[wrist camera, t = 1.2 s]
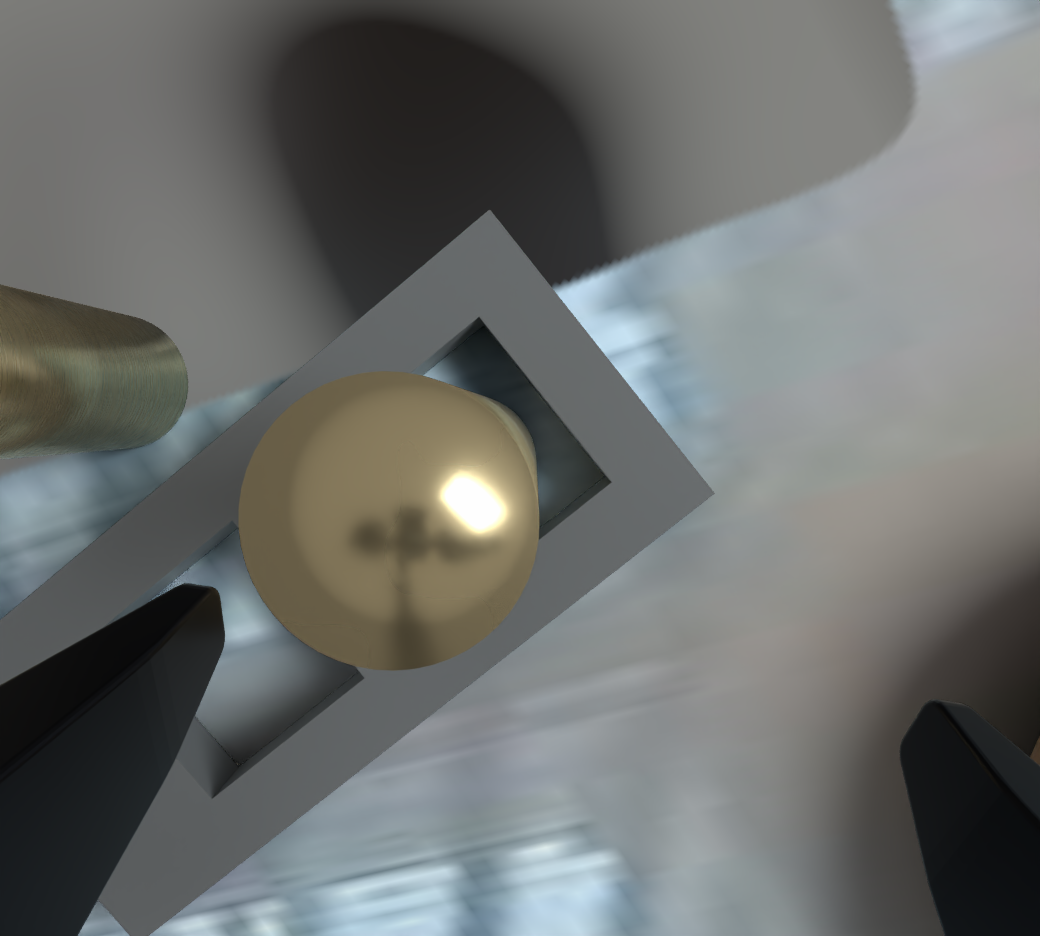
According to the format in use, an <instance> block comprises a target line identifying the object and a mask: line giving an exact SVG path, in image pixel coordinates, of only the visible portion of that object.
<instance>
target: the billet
mask: <svg viewBox="0 0 1040 936" xmlns="http://www.w3.org/2000/svg"><path fill="white" fill-rule="evenodd" d="M238 527H239V535H240V543H241V549H242V552H243V556H244V560H245V564H246V567H247V569H248V572H249V574H250V577H251V579H252V582H253V584H254V586H255V588H256V589H257V591H258V593H259V595H260V596H261V598H262V600H263V601H264V603H265V604H266V605H267V607H268V608H269V610H270V611H271V612H272V614H273V615H274V616H275V617H276V618H277V619H278V620H279V621H280V622H281V624H282V625H283V626H284V627H285V628H286V629H287V630H288V631H290V632H291V633H292V634H293V635H294V636H296V637H297V638H298V639H299V640H301V641H302V642H303V643H305V644H306V645H308V646H310V647H311V648H313V649H315V650H316V651H318V652H319V653H322V654H324V655H326V656H328V657H330V658H333V659H335V660H337V661H340V662H343V663H346V664H350V665H353V666H356V667H362V668H368V669H373V670H390V671H397V670H409V669H416V668H421V667H426V666H431V665H434V664H437V663H440V662H443V661H445V660H448V659H451V658H453V657H455V656H457V655H459V654H461V653H463V652H465V651H467V650H468V649H470V648H471V647H473V646H474V645H476V644H477V643H479V642H480V641H482V640H483V639H484V638H485V637H487V636H488V635H489V634H490V633H491V632H492V631H493V630H494V629H495V628H497V627H498V626H499V624H500V623H501V622H502V621H503V620H504V619H505V617H506V616H507V615H508V614H509V613H510V612H511V610H512V608H513V607H514V605H515V604H516V602H517V601H518V599H519V598H520V596H521V594H522V592H523V590H524V588H525V586H526V584H527V582H528V579H529V577H530V574H531V571H532V568H533V565H534V561H535V557H536V552H537V546H538V541H539V501H538V481H537V461H536V451H535V446H534V442H533V440H532V437H531V434H530V432H529V431H528V429H527V427H526V425H525V424H524V423H523V421H522V420H521V419H520V418H519V416H518V415H517V414H516V413H515V412H513V411H512V410H511V409H510V408H508V407H507V406H505V405H504V404H502V403H500V402H498V401H496V400H494V399H491V398H488V397H485V396H482V395H479V394H476V393H473V392H470V391H468V390H465V389H462V388H459V387H456V386H453V385H450V384H447V383H444V382H441V381H438V380H435V379H432V378H429V377H425V376H422V375H417V374H411V373H405V372H391V371H378V372H368V373H360V374H356V375H351V376H347V377H343V378H340V379H337V380H335V381H332V382H329V383H327V384H324V385H322V386H320V387H318V388H317V389H315V390H313V391H311V392H309V393H307V394H306V395H304V396H303V397H302V398H300V399H299V400H298V401H296V402H295V403H293V404H292V405H291V406H290V407H289V408H288V409H286V410H285V411H284V412H283V413H282V414H281V415H280V416H279V417H278V418H277V419H276V420H275V422H274V423H273V424H272V425H271V427H270V428H269V429H268V430H267V432H266V433H265V434H264V436H263V437H262V439H261V441H260V442H259V444H258V446H257V447H256V449H255V451H254V453H253V455H252V458H251V460H250V462H249V465H248V467H247V469H246V473H245V477H244V480H243V484H242V487H241V494H240V501H239V524H238Z"/></svg>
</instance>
